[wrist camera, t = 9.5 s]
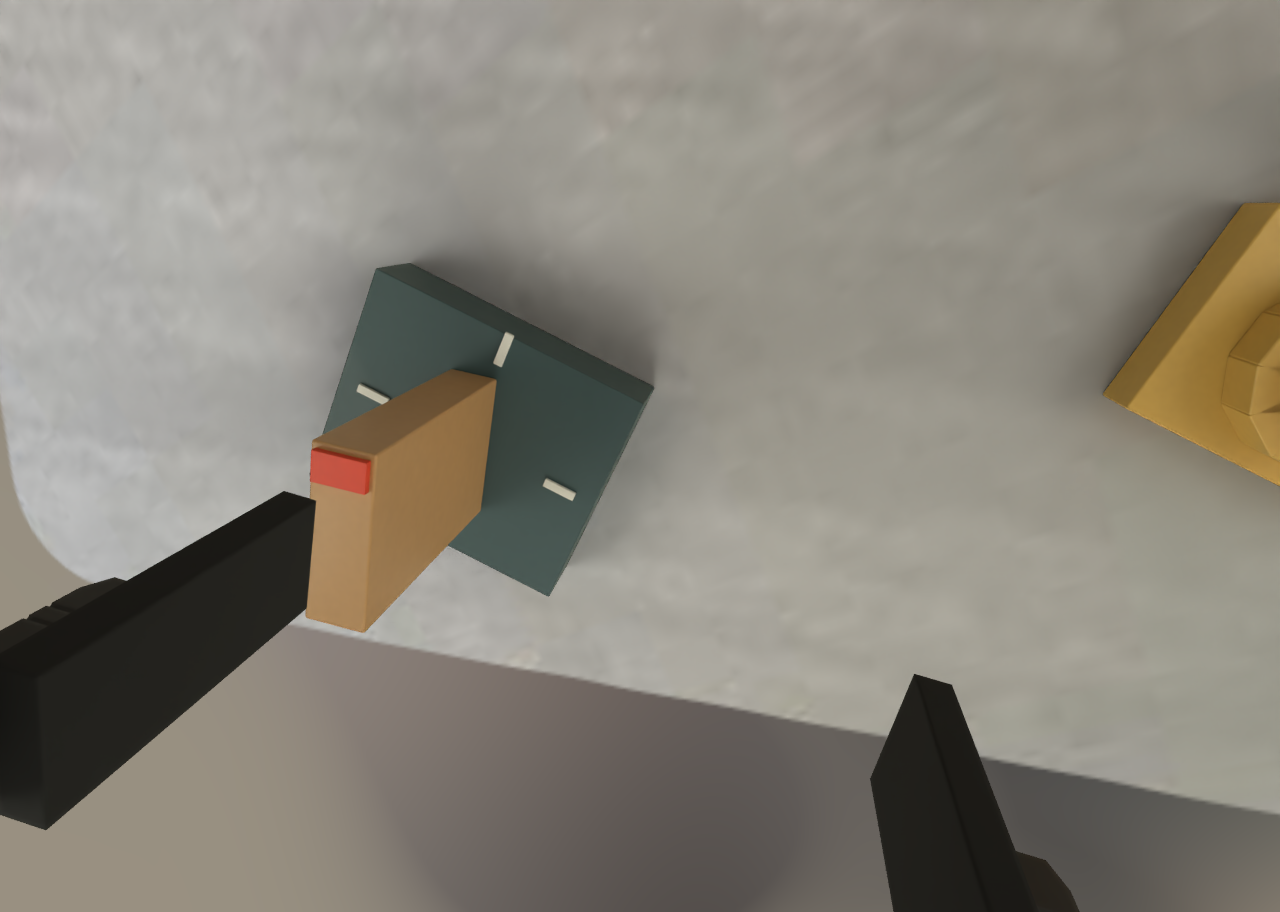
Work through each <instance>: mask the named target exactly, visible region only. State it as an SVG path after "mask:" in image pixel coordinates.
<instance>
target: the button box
mask: <svg viewBox="0 0 1280 912" xmlns="http://www.w3.org/2000/svg"><path fill="white" fill-rule="evenodd" d="M1103 395H1104V396H1105V397H1107V398H1109V399H1110V400H1112V401H1114V402H1116V403H1117V404H1119V405H1121V406H1123V407H1124V408H1126V409H1128V410H1130V411H1132V412H1134V413H1136V414H1138V415H1140V416H1142V417H1144V418H1146V419H1148V420H1150V421H1152V422H1154V423H1156V424H1158V425H1160V426H1162V427H1163V428H1165V429H1167V430H1169V431H1171V432H1173V433H1175V434H1177V435H1179V436H1181V437H1183V438H1185V439H1187V440H1189V441H1191V442H1193V443H1195V444H1197V445H1199V446H1201V447H1203V448H1205V449H1207V450H1209V451H1211V452H1213V453H1215V454H1217V455H1219V456H1221V457H1223V458H1225V459H1227V460H1229V461H1231V462H1233V463H1235V464H1237V465H1239V466H1241V467H1243V468H1245V469H1247V470H1249V471H1251V472H1253V473H1255V474H1256V475H1258V476H1260V477H1262V478H1264V479H1266V480H1268V481H1270V482H1272V483H1274V484H1276V485H1278V486H1280V203H1244V204H1243V205H1242V206H1241V207H1240V209H1239V210H1238V212H1237V213H1236V214H1235V216H1234V217H1233V218H1232V220H1231V221H1230V222H1229V224H1228V225H1227V226H1226V228H1225V229H1224V231H1223V232H1222V233H1221V235H1220V236H1219V237H1218V239H1217V240H1216V241H1215V243H1214V244H1213V245H1212V247H1211V248H1210V249H1209V251H1208V252H1207V254H1206V255H1205V256H1204V258H1203V259H1202V260H1201V262H1200V263H1199V264H1198V266H1197V267H1196V268H1195V270H1194V271H1193V272H1192V274H1191V275H1190V277H1189V278H1188V279H1187V281H1186V282H1185V283H1184V285H1183V286H1182V287H1181V289H1180V290H1179V291H1178V293H1177V294H1176V296H1175V297H1174V298H1173V300H1172V301H1171V302H1170V304H1169V305H1168V306H1167V308H1166V309H1165V310H1164V312H1163V313H1162V314H1161V316H1160V317H1159V319H1158V320H1157V321H1156V323H1155V324H1154V325H1153V327H1152V328H1151V329H1150V331H1149V332H1148V333H1147V335H1146V336H1145V337H1144V339H1143V340H1142V342H1141V343H1140V344H1139V346H1138V347H1137V348H1136V350H1135V351H1134V352H1133V354H1132V355H1131V356H1130V358H1129V359H1128V361H1127V362H1126V363H1125V365H1124V366H1123V367H1122V369H1121V370H1120V371H1119V373H1118V374H1117V375H1116V377H1115V378H1114V379H1113V381H1112V382H1111V384H1110V385H1109V386H1108V388H1107V389H1106V390H1105V392H1104V393H1103Z"/></svg>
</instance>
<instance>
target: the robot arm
mask: <svg viewBox="0 0 1280 912" xmlns="http://www.w3.org/2000/svg"><path fill="white" fill-rule="evenodd" d="M315 510H316V500H313V499H309V498H306V497H302V496H299V495H296V494H292V493H289V492H285V491H283V492H281V493H280V494H278V495H276V496H274V497H273V498H271V499H269V500H267V501H266V502H264V503H262V504H260V505H259V506H257V507H255V508H253V509H252V510H250V511H248V512H246V513H245V514H243V515H241V516H239V517H238V518H236V519H234V520H232V521H231V522H229V523H227V524H225V525H224V526H222V527H220V528H218V529H217V530H215V531H213V532H211V533H210V534H208V535H206V536H204V537H203V538H201V539H199V540H197V541H196V542H194V543H192V544H190V545H189V546H187V547H185V548H183V549H182V550H180V551H178V552H176V553H175V554H173V555H171V556H169V557H168V558H166V559H164V560H162V561H161V562H159V563H157V564H155V565H154V566H152V567H150V568H148V569H147V570H145V571H143V572H141V573H140V574H138V575H136V576H134V577H133V578H131V579H129V580H127V581H125V580H122V579H118V578H115V577H114V578H111V579H108V580H104V581H101V582H97V583H94V584H90V585H87V586H84V587H80V588H79V589H76V590H75V591H73V592H71V593H69V594H67V595H65V596H63V597H62V598H60V599H58V600H56V601H54V602H53V603H52V605H51V606H50V607H49V606H45V607H43V608H41V609H40V610H38V611H36V612H34V613H32V614H30V615H29V617H28V618H27V619H21V620H19V621H17V622H16V623H14V624H12V625H10V626H8V627H6V628H4V629H3V630H1V631H0V815H2V816H5V817H8V818H11V819H14V820H17V821H20V822H23V823H26V824H29V825H32V826H35V827H38V828H41V829H44V830H47V829H48V828H49V827H50V826H52V825H53V824H54V823H55V822H56V821H57V820H59V819H60V818H61V817H62V816H63V815H64V814H66V813H67V812H68V811H69V810H70V809H71V808H73V807H74V806H75V805H76V804H77V803H78V802H80V801H81V800H82V799H83V798H84V797H86V796H87V795H88V794H89V793H90V792H92V791H93V790H94V789H95V788H96V787H97V786H98V785H100V784H101V783H102V782H103V781H104V780H105V779H107V778H108V777H109V776H110V775H111V774H113V773H114V772H115V771H116V770H117V769H119V768H120V767H121V766H122V765H123V764H124V763H126V762H127V761H128V760H129V759H130V758H131V757H133V756H134V755H135V754H136V753H137V752H138V751H140V750H141V749H142V748H143V747H144V746H146V745H147V744H148V743H149V742H150V741H151V740H153V739H154V738H155V737H156V736H157V735H158V734H160V733H161V732H162V731H163V730H164V729H165V728H167V727H168V726H169V725H170V724H171V723H173V722H174V721H175V720H176V719H177V718H178V717H179V716H181V715H182V714H183V713H184V712H185V711H187V710H188V709H189V708H190V707H191V706H192V705H194V704H195V703H196V702H197V701H198V700H199V699H201V698H202V697H203V696H204V695H205V694H207V693H208V692H209V691H210V690H211V689H212V688H214V687H215V686H216V685H217V684H218V683H219V682H221V681H222V680H223V679H224V678H225V677H227V676H228V675H229V674H230V673H231V672H232V671H234V670H235V669H236V668H237V667H238V666H239V665H240V664H242V663H243V662H244V661H245V660H246V659H247V658H248V657H250V656H251V655H252V654H254V652H256V651H257V650H258V649H259V648H260V647H262V646H263V645H264V644H265V643H266V642H268V641H269V640H270V639H271V638H272V637H273V636H275V635H276V634H277V633H278V632H279V631H280V630H282V629H283V628H284V627H285V626H286V625H288V624H289V623H290V622H291V621H292V620H293V619H295V618H296V617H297V616H298V615H299V614H300V613H302V612H303V611H304V610H305V609H306V608H307V601H308V589H309V578H310V567H311V555H312V544H313V533H314V522H315ZM870 780H871V786H872V792H873V797H874V803H875V808H876V814H877V819H878V826H879V831H880V837H881V843H882V849H883V854H884V859H885V865H886V871H887V877H888V883H889V888H890V894H891V900H892V905H893V911H894V912H1079V910H1078V907H1077V905H1076V903H1075V900H1074V898H1073V896H1072V894H1071V892H1070V890H1069V889H1068V888H1067V886H1066V885H1065V884H1064V882H1063V881H1062V880H1061V879H1060V877H1059V876H1058V875H1057V874H1056V872H1055V871H1054V870H1053V869H1052V868H1051V866H1050V865H1049V864H1048V862H1047V861H1046V860H1043V859H1039V858H1037V857H1033V856H1030V855H1026V854H1023V853H1020V852H1017V851H1015V848H1014V846H1013V843H1012V841H1011V838H1010V835H1009V833H1008V830H1007V827H1006V825H1005V823H1004V820H1003V817H1002V814H1001V812H1000V809H999V807H998V804H997V801H996V799H995V796H994V794H993V791H992V788H991V786H990V783H989V781H988V778H987V775H986V773H985V770H984V768H983V765H982V762H981V760H980V757H979V754H978V752H977V749H976V747H975V744H974V741H973V739H972V736H971V734H970V731H969V728H968V726H967V723H966V721H965V718H964V715H963V713H962V710H961V707H960V705H959V702H958V700H957V697H956V694H955V692H954V689H953V687H952V685H951V684H947V683H944V682H940V681H937V680H933V679H930V678H927V677H923V676H920V675H916V674H914V676H913V678H912V681H911V683H910V685H909V688H908V690H907V693H906V695H905V697H904V700H903V702H902V704H901V707H900V709H899V712H898V714H897V716H896V719H895V721H894V723H893V726H892V728H891V731H890V733H889V735H888V738H887V740H886V742H885V745H884V747H883V750H882V752H881V754H880V757H879V759H878V762H877V764H876V766H875V769H874V771H873V773H872V776H871V778H870Z"/></svg>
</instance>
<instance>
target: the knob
mask: <svg viewBox="0 0 1280 912" xmlns="http://www.w3.org/2000/svg"><path fill="white" fill-rule="evenodd" d="M496 382H497V381H496V379H493V378H489V377H485V376H480V375H476V374H471V373H467V372H463V371H458V370H454V369H450V370H448V371H447V372H445V373H443V374H441V375H439V376H437V377H435V378H433V379H431V380H429V381H427V382H425V383H423V384H421V385H419V386H417V387H415V388H413V389H411V390H409V391H407V392H405V393H403V394H402V395H400V396H398V397H396V398H394V399H392V400H390V401H388V402H386V403H384V404H382V405H380V406H378V407H376V408H374V409H372V410H370V411H368V412H366V413H364V414H362V415H360V416H358V417H357V418H355V419H353V420H351V421H349V422H347V423H345V424H343V425H341V426H339V427H337V428H335V429H333V430H331V431H329V432H327V433H325V434H323V435H321V436H319V437H317V438H315V439H313V441H312V450H311V469H310V482H311V485H310V499H313V500H316V510H315V522H314V533H313V544H312V555H311V567H310V578H309V589H308V601H307V608H306V617H307V618H309V619H313V620H317V621H320V622H324V623H328V624H332V625H335V626H339V627H343V628H347V629H350V630H354V631H358V632H362V633H364V632H365V631H366V630H367V629H368V628H369V627H370V626H371V625H372V624H373V623H374V622H375V621H376V620H377V619H378V618H379V617H380V616H381V615H382V614H383V613H384V612H385V610H386V609H387V608H388V607H389V606H390V605H391V604H392V603H393V602H394V601H395V600H396V599H397V598H398V597H399V596H400V595H401V594H402V593H403V592H404V591H405V589H406V588H407V587H408V586H409V585H410V584H411V583H412V582H413V581H414V580H415V579H416V578H417V577H418V576H419V575H420V574H421V573H422V572H423V571H424V570H425V569H426V567H427V566H428V565H429V564H430V563H431V562H432V561H433V560H434V559H435V558H436V557H437V556H438V555H439V554H440V553H441V552H442V551H443V550H444V549H445V548H446V547H447V545H448V544H449V543H450V542H451V541H452V540H453V539H454V538H455V537H456V536H457V535H458V534H459V533H460V532H461V531H462V530H463V529H464V528H465V527H466V526H467V525H468V523H469V522H470V521H471V520H472V519H473V518H474V517H475V516H476V515H477V514H478V513H479V512H480V511H481V503H482V495H483V487H484V479H485V471H486V463H487V455H488V447H489V439H490V431H491V423H492V415H493V406H494V398H495V390H496Z"/></svg>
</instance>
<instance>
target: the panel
mask: <svg viewBox="0 0 1280 912" xmlns="http://www.w3.org/2000/svg"><path fill="white" fill-rule="evenodd" d="M450 369H454V370H458V371H463V372H467V373H471V374H476V375H480V376H485V377H489V378H493V379H496V381H497V382H496V390H495V398H494V406H493V415H492V423H491V431H490V439H489V447H488V455H487V463H486V471H485V479H484V487H483V495H482V503H481V511H480V512H479V513H478V514H477V515H476V516H475V517H474V518H473V519H472V520H471V521H470V522H469V523H468V525H467V526H466V527H465V528H464V529H463V530H462V531H461V532H460V533H459V534H458V535H457V536H456V537H455V538H454V539H453V540H452V541H451V542H450V543H449V544H448V546H450V547H452V548H454V549H456V550H458V551H460V552H462V553H464V554H466V555H468V556H470V557H472V558H474V559H476V560H478V561H480V562H481V563H483V564H485V565H487V566H489V567H491V568H493V569H495V570H497V571H499V572H501V573H503V574H505V575H507V576H509V577H511V578H513V579H515V580H517V581H519V582H521V583H523V584H525V585H527V586H529V587H531V588H533V589H534V590H536V591H538V592H540V593H542V594H544V595H546V596H550V594H551V592H552V591H553V589H554V587H555V585H556V584H557V582H558V580H559V578H560V577H561V575H562V573H563V571H564V570H565V568H566V566H567V564H568V562H569V560H570V558H571V556H572V554H573V552H574V550H575V548H576V546H577V544H578V542H579V540H580V538H581V536H582V534H583V532H584V530H585V528H586V525H587V523H588V521H589V519H590V517H591V515H592V513H593V511H594V509H595V507H596V505H597V503H598V501H599V499H600V497H601V495H602V493H603V491H604V489H605V487H606V485H607V483H608V481H609V479H610V477H611V475H612V473H613V471H614V469H615V467H616V465H617V463H618V461H619V459H620V457H621V455H622V453H623V451H624V449H625V447H626V445H627V443H628V441H629V439H630V437H631V434H632V432H633V430H634V428H635V426H636V424H637V422H638V420H639V418H640V416H641V414H642V412H643V410H644V408H645V406H646V404H647V402H648V400H649V398H650V396H651V394H652V392H653V390H654V387H653V386H651V385H649V384H647V383H645V382H644V381H642V380H640V379H638V378H636V377H634V376H632V375H630V374H628V373H626V372H624V371H622V370H620V369H618V368H616V367H614V366H612V365H610V364H608V363H606V362H604V361H602V360H600V359H598V358H596V357H594V356H592V355H590V354H588V353H586V352H584V351H582V350H580V349H578V348H576V347H575V346H573V345H571V344H569V343H567V342H565V341H563V340H561V339H559V338H557V337H555V336H553V335H551V334H549V333H547V332H545V331H543V330H541V329H539V328H537V327H535V326H533V325H531V324H529V323H527V322H525V321H523V320H521V319H519V318H517V317H515V316H513V315H511V314H509V313H507V312H506V311H504V310H502V309H500V308H498V307H496V306H494V305H492V304H490V303H488V302H486V301H484V300H482V299H480V298H478V297H476V296H474V295H472V294H470V293H468V292H466V291H464V290H462V289H460V288H458V287H456V286H454V285H452V284H450V283H448V282H446V281H444V280H442V279H440V278H438V277H437V276H435V275H433V274H431V273H429V272H427V271H425V270H423V269H421V268H419V267H417V266H415V265H413V264H411V263H407V264H401V265H394V266H388V267H382V268H377V269H376V271H375V274H374V277H373V280H372V283H371V286H370V289H369V292H368V295H367V298H366V302H365V305H364V308H363V311H362V314H361V317H360V320H359V323H358V326H357V329H356V332H355V336H354V339H353V342H352V345H351V348H350V351H349V354H348V357H347V360H346V363H345V366H344V370H343V373H342V376H341V379H340V382H339V385H338V388H337V391H336V394H335V397H334V400H333V404H332V407H331V410H330V413H329V416H328V419H327V422H326V425H325V428H324V431H323V434H325V433H327V432H329V431H331V430H333V429H335V428H337V427H339V426H341V425H343V424H345V423H347V422H349V421H351V420H353V419H355V418H357V417H358V416H360V415H362V414H364V413H366V412H368V411H370V410H372V409H374V408H376V407H378V406H380V405H382V404H384V403H386V402H388V401H390V400H392V399H394V398H396V397H398V396H400V395H402V394H403V393H405V392H407V391H409V390H411V389H413V388H415V387H417V386H419V385H421V384H423V383H425V382H427V381H429V380H431V379H433V378H435V377H437V376H439V375H441V374H443V373H445V372H447V371H448V370H450ZM323 434H322V435H323Z"/></svg>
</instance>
